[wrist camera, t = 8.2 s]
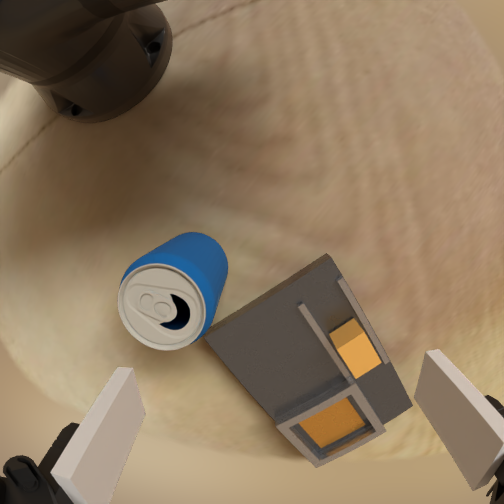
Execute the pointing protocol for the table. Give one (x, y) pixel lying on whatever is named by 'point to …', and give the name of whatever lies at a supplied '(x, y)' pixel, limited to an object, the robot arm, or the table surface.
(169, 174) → the table surface
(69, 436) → the robot arm
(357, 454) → the table surface
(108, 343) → the table surface
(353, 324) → the block
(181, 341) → the beverage can
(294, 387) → the panel
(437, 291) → the table surface
